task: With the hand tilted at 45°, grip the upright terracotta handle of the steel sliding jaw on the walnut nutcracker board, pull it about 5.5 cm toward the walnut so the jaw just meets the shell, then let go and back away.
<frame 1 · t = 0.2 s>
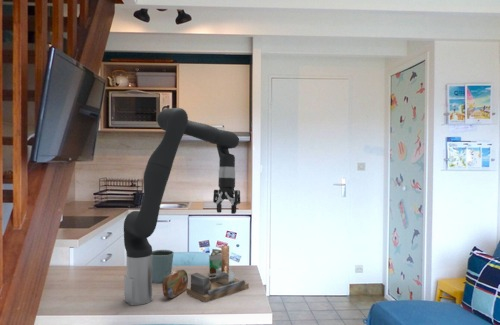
hand: (226, 213, 172), 28 cm above the table, tool pointing down, fingers open, 8 cm apart
teal cup: (161, 280, 166), on the table
tin: (176, 294, 150), on the table
food container: (217, 274, 175), on the table
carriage: (225, 264, 156), point 10 cm above the table, slide at 0.0 cm
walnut: (206, 294, 150), resting on railed wooden base
railed wooden base: (218, 290, 154), on the table
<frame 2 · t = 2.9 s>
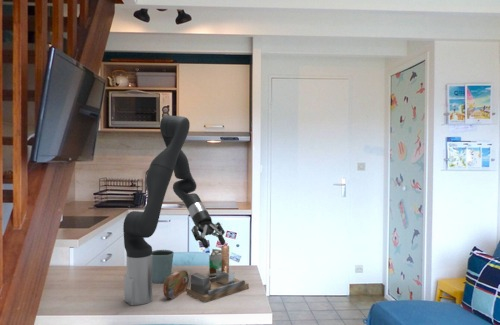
hand: (215, 245, 160), 17 cm above the table, tool tilted 45°, fingers open, 8 cm apart
nothing on the table moved.
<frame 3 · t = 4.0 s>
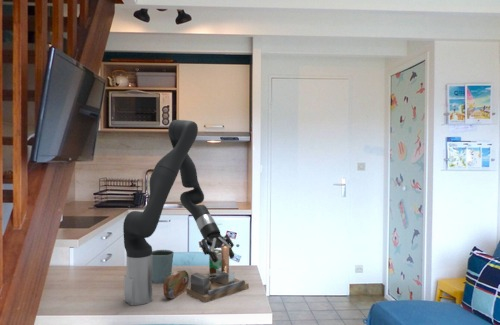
hand: (224, 259, 156), 12 cm above the table, tool tilted 45°, fingers open, 8 cm apart
nothing on the table moved.
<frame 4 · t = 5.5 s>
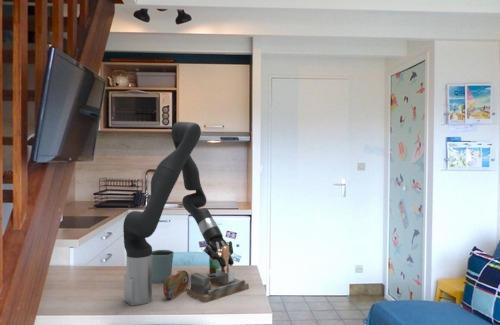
hand: (228, 265, 154), 10 cm above the table, tool tilted 45°, fingers closed on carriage, 3 cm apart
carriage: (225, 264, 156), point 10 cm above the table, slide at 0.0 cm, touching gripper
everything else where it was.
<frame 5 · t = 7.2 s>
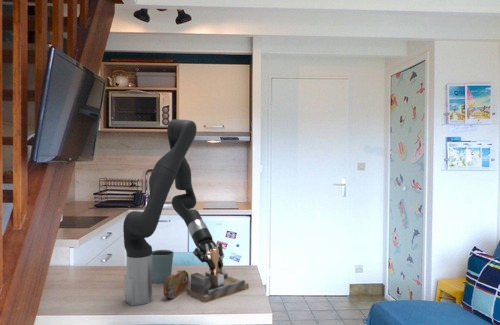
hand: (217, 268, 151), 10 cm above the table, tool tilted 45°, fingers closed on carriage, 3 cm apart
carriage: (214, 267, 152), point 10 cm above the table, slide at 5.5 cm, touching gripper
everything else where it was.
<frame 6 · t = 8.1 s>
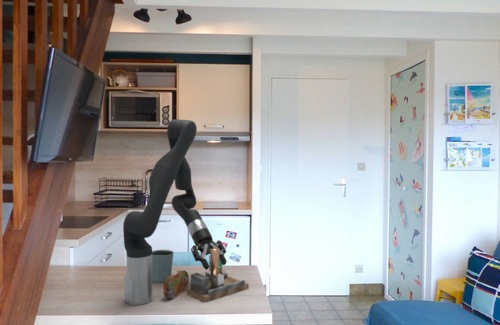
hand: (216, 266, 151), 11 cm above the table, tool tilted 45°, fingers open, 8 cm apart
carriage: (214, 267, 152), point 10 cm above the table, slide at 5.5 cm
everything else where it was.
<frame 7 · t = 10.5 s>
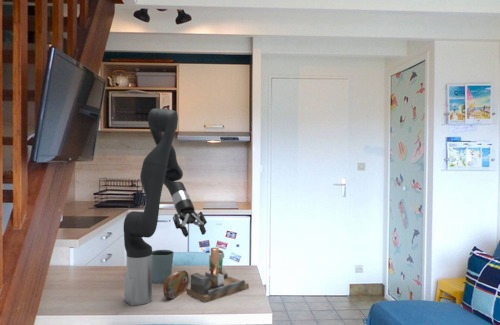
hand: (195, 234, 160), 21 cm above the table, tool tilted 40°, fingers open, 8 cm apart
nothing on the table moved.
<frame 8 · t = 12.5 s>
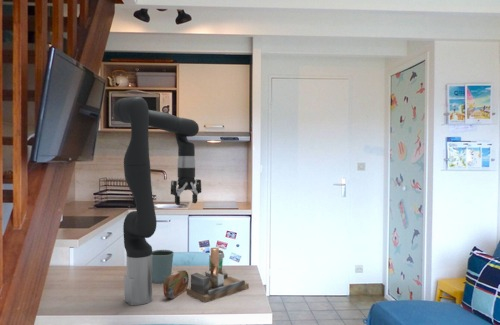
hand: (186, 203, 166), 33 cm above the table, tool pointing down, fingers open, 8 cm apart
nothing on the table moved.
at the end: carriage slide at 5.5 cm; the gripper is holding nothing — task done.
